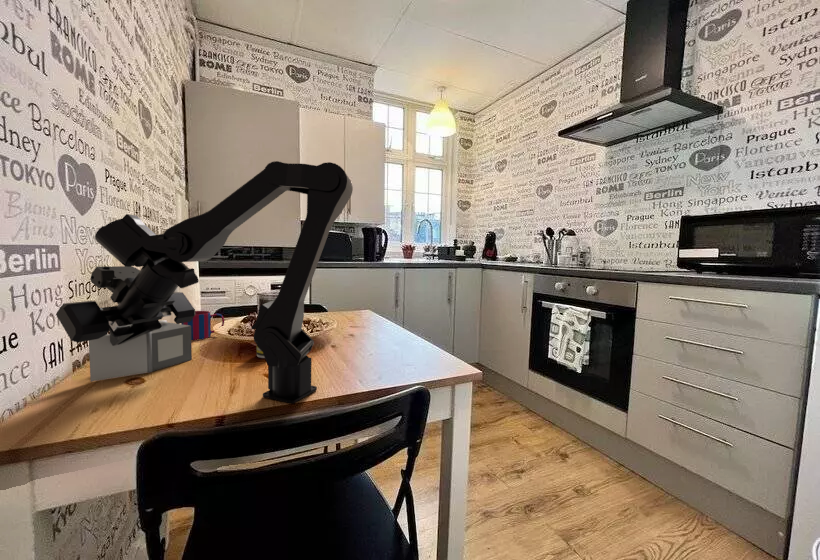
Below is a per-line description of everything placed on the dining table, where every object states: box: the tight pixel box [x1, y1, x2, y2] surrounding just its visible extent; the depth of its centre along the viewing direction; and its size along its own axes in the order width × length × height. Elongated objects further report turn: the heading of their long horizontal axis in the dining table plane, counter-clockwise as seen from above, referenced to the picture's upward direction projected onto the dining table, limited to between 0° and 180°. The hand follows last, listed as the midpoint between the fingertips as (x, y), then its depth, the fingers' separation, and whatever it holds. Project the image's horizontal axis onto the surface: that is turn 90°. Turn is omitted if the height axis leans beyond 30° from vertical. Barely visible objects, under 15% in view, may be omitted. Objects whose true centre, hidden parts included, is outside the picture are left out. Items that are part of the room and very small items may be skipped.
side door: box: [88, 332, 153, 382], centre depth 63 cm, size 9×1×8 cm, turn 130°
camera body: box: [151, 319, 193, 372], centre depth 71 cm, size 8×9×8 cm
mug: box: [180, 310, 225, 341], centre depth 93 cm, size 7×10×7 cm
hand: (114, 343), depth 61 cm, fingers closed
